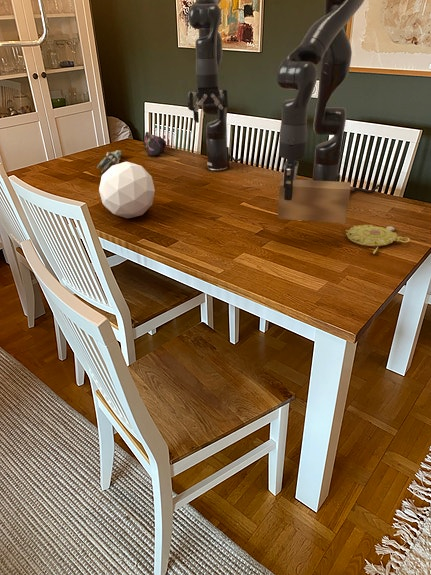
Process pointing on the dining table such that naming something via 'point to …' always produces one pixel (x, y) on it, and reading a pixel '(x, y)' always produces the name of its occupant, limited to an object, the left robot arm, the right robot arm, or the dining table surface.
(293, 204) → the box
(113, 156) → the figurine
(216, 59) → the left robot arm
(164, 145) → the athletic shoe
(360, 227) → the decorative object
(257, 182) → the dining table surface
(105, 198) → the sphere
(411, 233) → the dining table surface
